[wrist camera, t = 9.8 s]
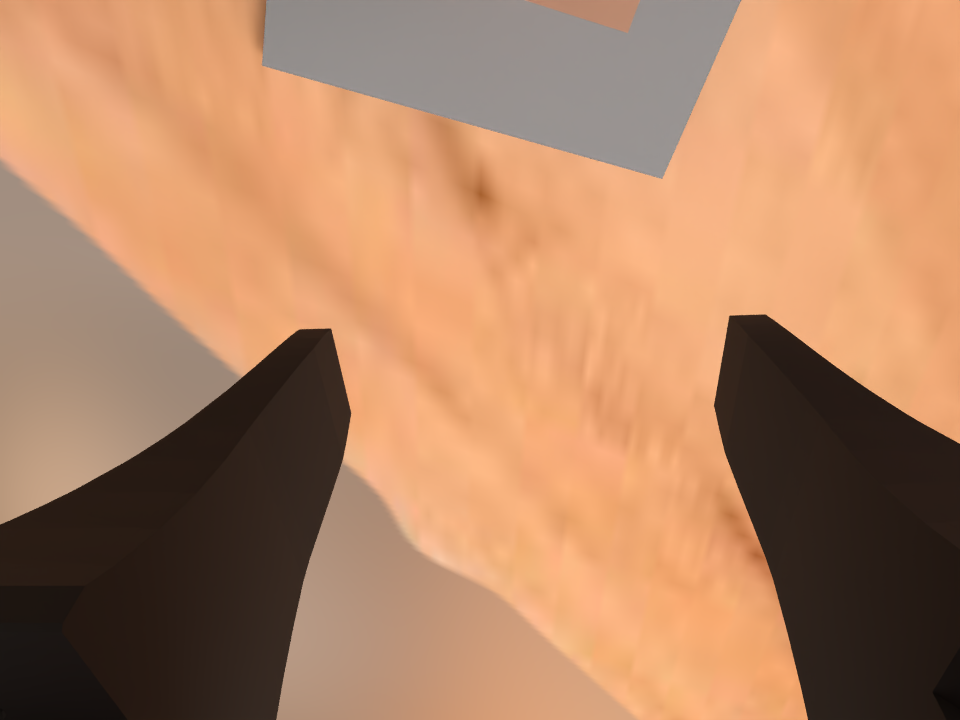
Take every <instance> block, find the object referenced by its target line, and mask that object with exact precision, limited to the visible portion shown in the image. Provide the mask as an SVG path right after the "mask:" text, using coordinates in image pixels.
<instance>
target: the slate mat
mask: <svg viewBox="0 0 960 720" xmlns="http://www.w3.org/2000/svg"><path fill="white" fill-rule="evenodd" d="M740 1H741V0H640V2H639V4H638V7H637V10H636V12H635V15H634V18H633V21H632V23H631V26H630V29H629V31H628V33H626V32H623V31H620V30H616V29H613V28H610V27H607V26H604V25H601V24H598V23H594V22H591V21H588V20H585V19H582V18H579V17H576V16H573V15H569V14H566V13H563V12H560V11H557V10H554V9H551V8H547V7H544V6H541V5H538V4H535V3H532V2H529V1H525V0H267V1H266V16H265V31H264V46H263V61H262V66H265V67H269V68H272V69H276V70H279V71H283V72H286V73H290V74H293V75H297V76H301V77H304V78H308V79H311V80H315V81H318V82H322V83H325V84H329V85H332V86H336V87H339V88H343V89H346V90H350V91H354V92H357V93H361V94H364V95H368V96H371V97H375V98H378V99H382V100H385V101H389V102H392V103H396V104H400V105H403V106H407V107H410V108H414V109H417V110H421V111H424V112H428V113H431V114H435V115H438V116H442V117H445V118H449V119H453V120H456V121H460V122H463V123H467V124H470V125H474V126H477V127H481V128H484V129H488V130H491V131H495V132H499V133H502V134H506V135H509V136H513V137H516V138H520V139H523V140H527V141H530V142H534V143H537V144H541V145H544V146H548V147H552V148H555V149H559V150H562V151H566V152H569V153H573V154H576V155H580V156H583V157H587V158H590V159H594V160H598V161H601V162H605V163H608V164H612V165H615V166H619V167H622V168H626V169H629V170H633V171H636V172H640V173H643V174H647V175H651V176H654V177H658V178H661V179H662V178H663V176H664V173H665V171H666V169H667V167H668V164H669V162H670V160H671V158H672V155H673V153H674V151H675V149H676V146H677V144H678V142H679V140H680V137H681V135H682V133H683V130H684V128H685V126H686V124H687V121H688V119H689V117H690V115H691V112H692V110H693V108H694V106H695V103H696V101H697V99H698V97H699V94H700V92H701V90H702V87H703V85H704V83H705V81H706V78H707V76H708V74H709V72H710V69H711V67H712V65H713V63H714V60H715V58H716V56H717V54H718V51H719V49H720V47H721V44H722V42H723V40H724V38H725V35H726V33H727V31H728V29H729V26H730V24H731V22H732V20H733V17H734V15H735V13H736V11H737V8H738V6H739V4H740Z"/></svg>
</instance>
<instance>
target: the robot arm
mask: <svg viewBox="0 0 960 720" xmlns="http://www.w3.org/2000/svg"><path fill="white" fill-rule="evenodd" d="M714 407H715V412H716V416H717V421H718V425H719V430H720V434H721V438H722V442H723V446H724V450H725V454H726V457H727V459H728V462H729V465H730V467H731V470H732V473H733V475H734V478H735V480H736V483H737V486H738V488H739V491H740V493H741V496H742V498H743V501H744V503H745V506H746V509H747V511H748V514H749V516H750V519H751V521H752V524H753V526H754V529H755V531H756V534H757V536H758V539H759V542H760V544H761V547H762V549H763V552H764V554H765V557H766V560H767V563H768V566H769V569H770V572H771V574H772V577H773V580H774V584H775V588H776V591H777V595H778V599H779V603H780V606H781V610H782V614H783V617H784V621H785V625H786V629H787V632H788V636H789V640H790V644H791V649H792V653H793V657H794V661H795V665H796V669H797V673H798V677H799V681H800V685H801V689H802V694H803V698H804V703H805V707H806V712H807V717H808V720H960V444H959V443H957V442H955V441H954V440H952V439H950V438H948V437H946V436H944V435H943V434H941V433H939V432H937V431H935V430H933V429H932V428H930V427H928V426H926V425H924V424H923V423H921V422H919V421H917V420H916V419H914V418H912V417H911V416H909V415H907V414H906V413H904V412H902V411H901V410H899V409H898V408H896V407H895V406H893V405H891V404H890V403H888V402H887V401H885V400H884V399H882V398H881V397H879V396H877V395H876V394H874V393H873V392H871V391H870V390H868V389H867V388H865V387H864V386H862V385H861V384H859V383H858V382H857V381H855V380H854V379H852V378H851V377H849V376H848V375H847V374H845V373H844V372H842V371H841V370H840V369H838V368H837V367H836V366H834V365H833V364H831V363H830V362H829V361H827V360H826V359H825V358H823V357H822V356H821V355H819V354H818V353H817V352H815V351H814V350H813V349H811V348H810V347H809V346H807V345H806V344H805V343H803V342H802V341H801V340H800V339H798V338H797V337H796V336H794V335H793V334H792V333H790V332H789V331H788V330H786V329H785V328H784V327H782V326H781V325H780V324H778V323H777V322H775V321H774V320H773V319H771V318H770V317H768V316H767V315H737V316H729V322H728V328H727V334H726V339H725V345H724V351H723V357H722V363H721V369H720V374H719V380H718V386H717V392H716V398H715V403H714ZM350 417H351V410H350V406H349V402H348V398H347V394H346V389H345V385H344V381H343V377H342V372H341V368H340V364H339V360H338V356H337V351H336V347H335V343H334V339H333V335H332V330H331V329H301V330H298V331H297V332H295V333H294V334H293V335H291V336H290V337H289V338H288V339H286V340H285V341H284V342H283V343H282V344H281V345H279V346H278V347H277V348H276V349H275V350H274V351H272V352H271V353H270V354H269V355H268V356H267V357H266V358H264V359H263V360H262V361H261V362H260V363H259V364H258V365H256V366H255V367H254V368H253V369H252V370H251V371H249V372H248V373H247V374H246V375H245V376H243V377H242V378H241V379H240V380H239V381H238V382H236V384H234V385H233V386H232V387H231V388H229V389H228V390H227V391H226V392H224V393H223V394H222V395H221V396H219V397H218V398H217V399H215V400H214V401H213V402H212V403H210V404H209V405H208V406H206V407H205V408H204V409H202V410H201V411H200V412H199V413H197V414H196V415H195V416H193V417H192V418H191V419H190V420H188V421H187V422H186V423H185V424H183V425H181V426H180V427H179V428H177V429H176V430H174V431H173V432H171V433H170V434H169V435H167V436H166V437H164V438H163V439H161V440H160V441H158V442H157V443H155V444H153V445H152V446H150V447H149V448H147V449H146V450H144V451H142V452H141V453H139V454H138V455H136V456H134V457H133V458H131V459H130V460H128V461H126V462H124V463H123V464H121V465H119V466H117V467H115V468H114V469H112V470H110V471H108V472H106V473H105V474H103V475H101V476H99V477H97V478H96V479H94V480H92V481H90V482H88V483H87V484H85V485H83V486H81V487H79V488H78V489H76V490H74V491H72V492H70V493H68V494H66V495H64V496H62V497H59V498H57V499H55V500H53V501H51V502H49V503H47V504H45V505H43V506H41V507H39V508H37V509H34V510H32V511H30V512H28V513H25V514H23V515H21V516H19V517H17V518H14V519H12V520H10V521H8V522H5V523H3V524H1V525H0V720H276V718H277V712H278V706H279V700H280V694H281V688H282V682H283V677H284V672H285V667H286V662H287V656H288V651H289V646H290V641H291V636H292V631H293V626H294V621H295V617H296V612H297V607H298V603H299V598H300V594H301V589H302V585H303V581H304V577H305V574H306V570H307V566H308V563H309V559H310V556H311V553H312V551H313V548H314V544H315V542H316V539H317V535H318V533H319V530H320V527H321V524H322V521H323V518H324V515H325V512H326V509H327V506H328V503H329V500H330V497H331V494H332V491H333V488H334V485H335V482H336V479H337V476H338V473H339V470H340V467H341V463H342V460H343V456H344V451H345V446H346V441H347V435H348V429H349V423H350Z"/></svg>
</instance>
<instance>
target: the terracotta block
mask: <svg viewBox="0 0 960 720" xmlns="http://www.w3.org/2000/svg"><path fill="white" fill-rule="evenodd" d="M525 1H529V2H532V3H535V4H538V5H541V6H544V7H547V8H551V9H554V10H557V11H560V12H563V13H566V14H569V15H573V16H576V17H579V18H582V19H585V20H588V21H591V22H594V23H598V24H601V25H604V26H607V27H610V28H613V29H616V30H620V31H623V32H626V33H628V31H629V29H630V26H631V23H632V21H633V18H634V15H635V12H636V10H637V7H638V4H639V2H640V0H525Z"/></svg>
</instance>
